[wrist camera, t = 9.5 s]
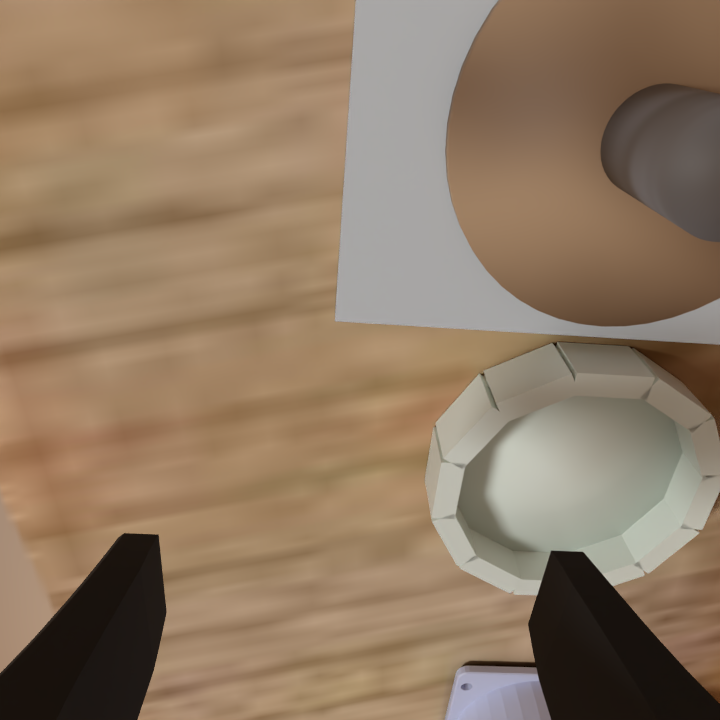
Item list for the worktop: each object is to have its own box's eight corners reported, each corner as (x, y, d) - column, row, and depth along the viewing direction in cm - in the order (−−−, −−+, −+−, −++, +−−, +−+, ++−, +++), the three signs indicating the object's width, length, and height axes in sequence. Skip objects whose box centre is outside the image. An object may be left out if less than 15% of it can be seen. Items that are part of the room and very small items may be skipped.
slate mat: (818, 343, 21) (827, 351, 20) (335, 314, 20) (335, 321, 19) (1044, -121, 15) (1065, -125, 14) (368, -195, 14) (369, -202, 13)
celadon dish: (647, 559, 26) (669, 600, 24) (413, 550, 25) (418, 591, 23) (733, 352, 21) (769, 383, 19) (448, 335, 20) (458, 365, 19)
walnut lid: (761, 327, 20) (867, 407, 16) (422, 308, 19) (444, 387, 15) (935, -88, 15) (1158, -125, 11) (480, -131, 14) (534, -187, 10)
